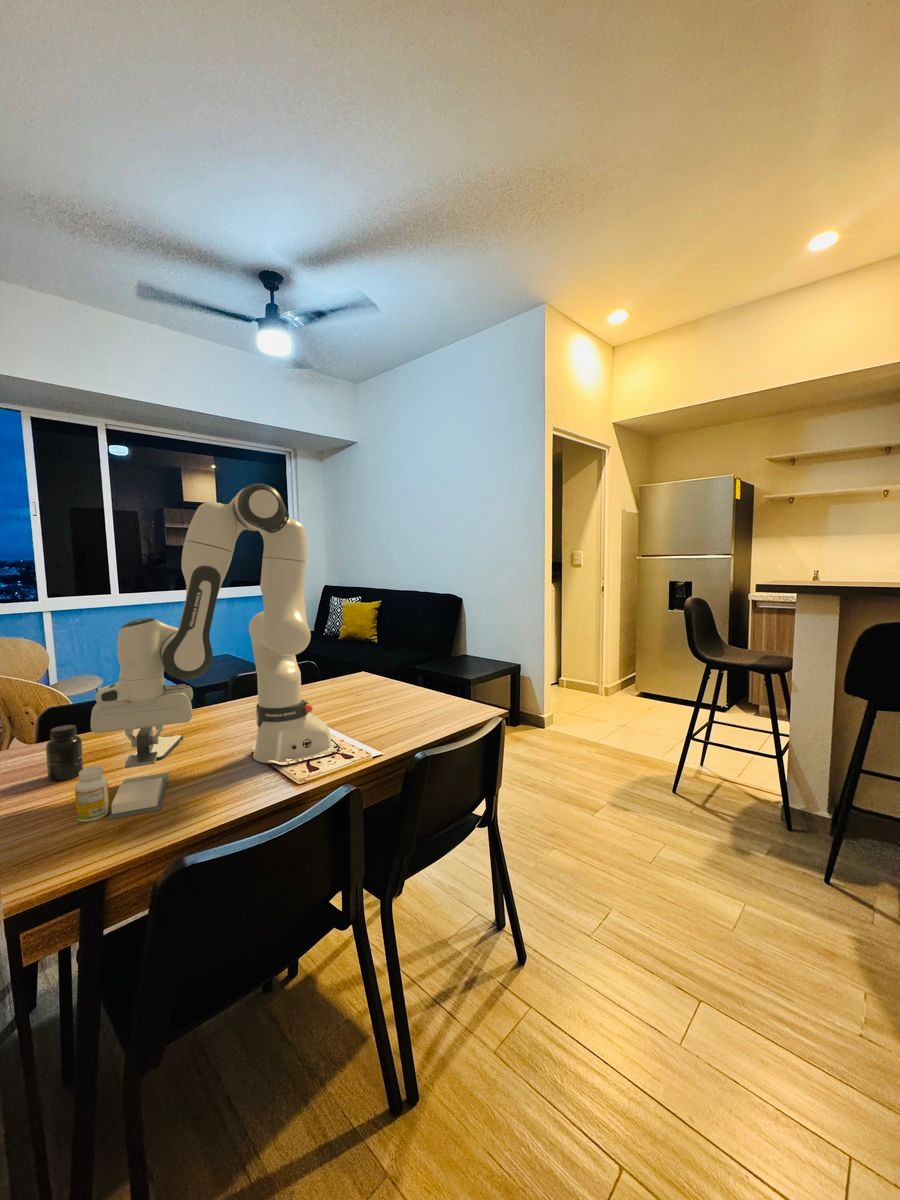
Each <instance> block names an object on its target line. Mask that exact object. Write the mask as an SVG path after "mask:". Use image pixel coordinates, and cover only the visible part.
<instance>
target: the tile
mask: <svg viewBox="0 0 900 1200" xmlns="http://www.w3.org/2000/svg"><path fill="white" fill-rule="evenodd" d="M123 783H124V782H123ZM123 783H120V785H119V786H118V788H117V791H116V793H115V796H114V798H113V800H112V802H111V810H112V814H113V815H115V814H120V813H126V812H131V811H137V810H142V809H148V808H153V807H157V805H158V801H159V798H160V794H161V790H162V786H163V783H162V778H155V779H149V780H143V781H137V782H130V783H124V784H123Z"/></svg>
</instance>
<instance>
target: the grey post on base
mask: <svg viewBox="0 0 900 1200" xmlns="http://www.w3.org/2000/svg"><path fill="white" fill-rule="evenodd" d="M153 728H154V727H146V728H139V730H138V733H137V735H136V736H135V737H136V739H137V747H136V751H137V755H133V754H131V755H129V756H128V757H127V759H126V762H125V764H124V768H125V769H131V768H137V767H143V766H150V765H155V764H156V762H157V761H156V758H157V752H151V751H152V749H153V746H154V745H151V736H153V735H154V729H153Z"/></svg>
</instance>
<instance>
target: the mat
mask: <svg viewBox="0 0 900 1200" xmlns="http://www.w3.org/2000/svg"><path fill="white" fill-rule="evenodd" d="M169 775H170V772H163V773H155V774H150V775H144V776H143V775H142V776H137V777H132V778H131V777H130V778H125V779H124V781H123V783H122V784H124V783H130V782H137V781H143V780H149V779H155V778H162V783H163V786H162V790H161V794H160V798H159V801H158V805H157V807H153V808H148V809H142V810H137V811H131V812H126V813H120V814H115V815H113V814H112V809H111V811H110V813H109V815H108V818H107V819H108V820H114V819H118V818H124V817H130V816H135V815H140V814H146V812H147V813H150V812H152V813H153V812H156V811H160V810H161V807H162V803H163V799H164V796H165V795H164V794H165V791H166V787H167V783H168V780H169V779H168V778H169Z"/></svg>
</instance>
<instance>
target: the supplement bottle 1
mask: <svg viewBox="0 0 900 1200" xmlns="http://www.w3.org/2000/svg"><path fill="white" fill-rule="evenodd" d="M77 731H78V730H77V726H76V725H73V724H65V725H61V726H60V725H59V726H56V727H53V728H51V729H50V735H49V736H50V740H48V742H47V743H46V746H45V752H46V755H45V757H46V771H47V779H48V780H49V781H51V782H63V780H64V781H68V779H69V780H72V779H75V778H77V777H79V772H80V771H81V770H83V769H84V757H83V756H84V755H83V741H82V737H80V736H79V735H77Z"/></svg>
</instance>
